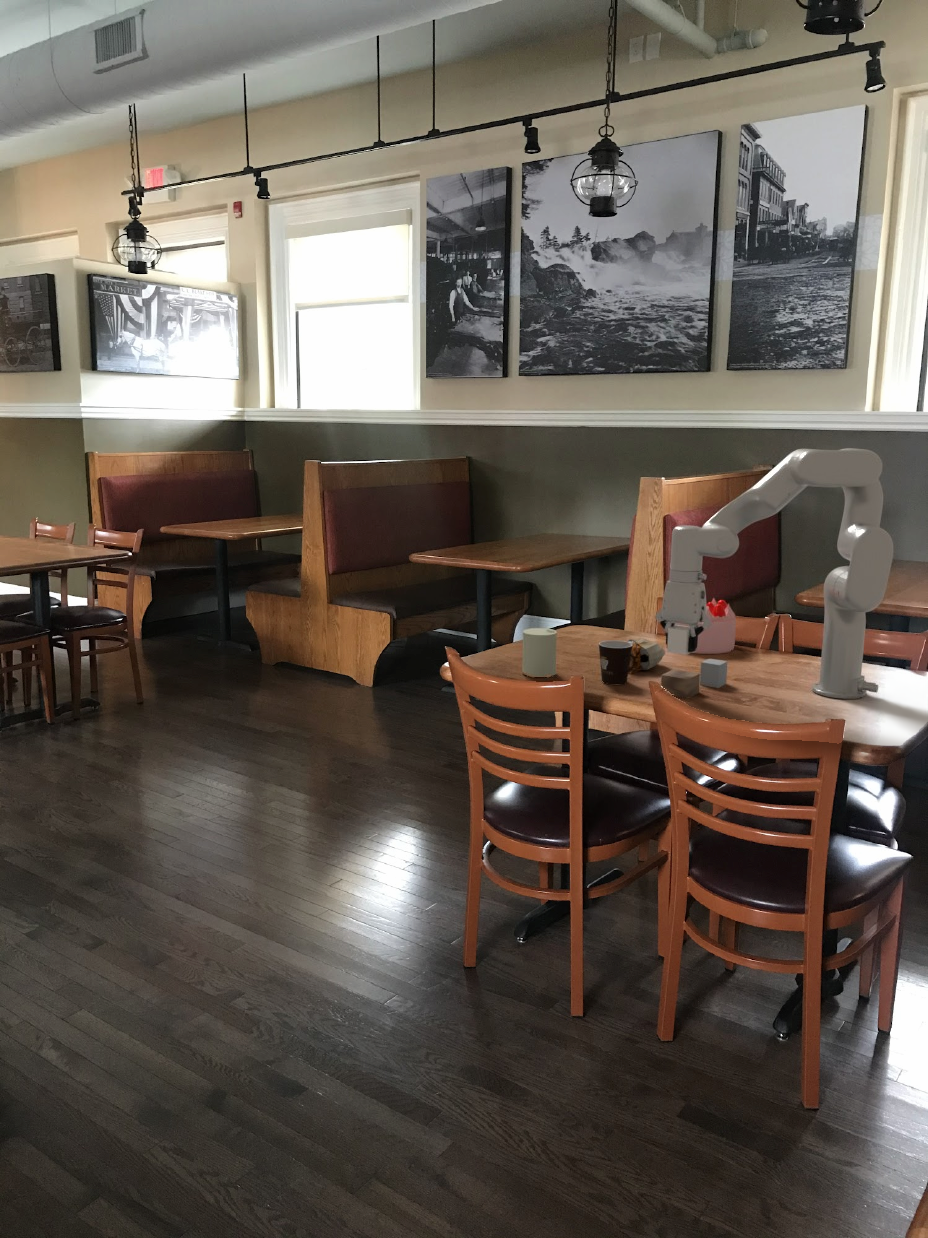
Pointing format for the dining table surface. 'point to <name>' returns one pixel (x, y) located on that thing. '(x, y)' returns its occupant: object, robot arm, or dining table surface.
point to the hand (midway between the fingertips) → (681, 649)
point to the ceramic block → (678, 639)
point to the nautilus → (645, 654)
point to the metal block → (681, 683)
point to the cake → (717, 629)
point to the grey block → (713, 673)
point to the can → (539, 651)
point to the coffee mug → (615, 661)
